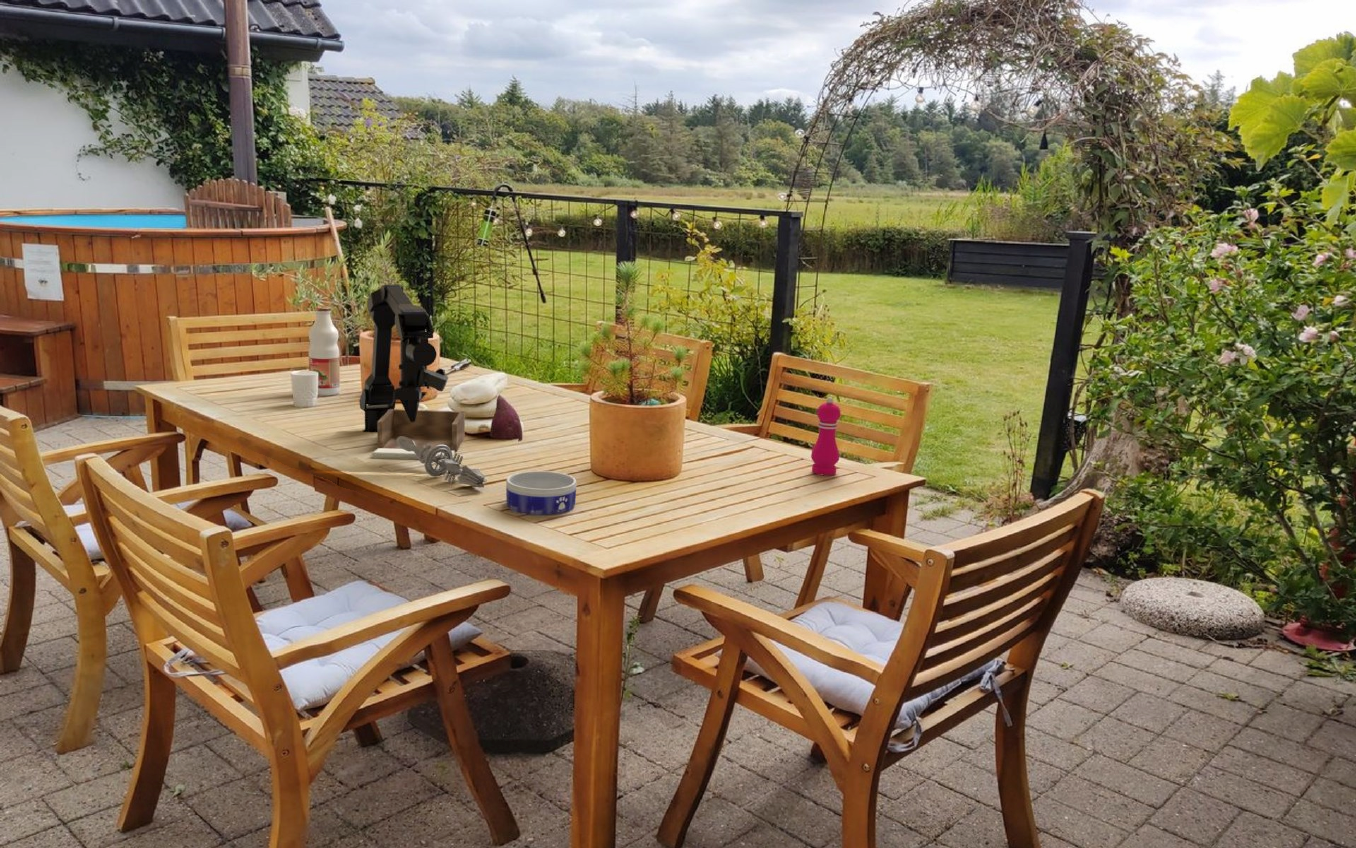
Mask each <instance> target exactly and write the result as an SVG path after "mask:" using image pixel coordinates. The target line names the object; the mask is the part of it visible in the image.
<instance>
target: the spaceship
mask: <svg viewBox="0 0 1356 848" xmlns="http://www.w3.org/2000/svg"><path fill="white" fill-rule="evenodd" d="M396 442H397V444H398V446H399V447H400V448H402V449H404V450H406V451H409V452H410V451H413V452H414V453H415V454H416V455H417V456H418V457H419V458H421V459H419V463H421V464H424V466H423V467H424V469H425V472H426V473H427V474H428V476H431V477H440V476H441V477H442V475H444V474H445V473H446V475H445V477H444V481H445V482H448V483H450V484H451V485H452V484H453V483H454V481H455V479H456V478H457V482H458V484H463V485H468V486H470V487H472V488H473V487H474V488H480V489H481V488H485V485H484V483H486V482H487V479H486V477H485V476H484V474H483V473H482V472H481V470H480V469H478V468H469V466H467V465H464V464H462V461H463V459H464V456H463V455H460V454H458V452H455V453H454V455H453V454H452V451H451V449H450V448H449V447H448V446H446V445H437V446H435V447H433V448H432V449H431V450H430V448H431V445H429V444H427V445H426V447H424V446H417V445H415V443H414V441H413V440H411V439H409V438H407V437H404V436H399V437H398V438H397V439H396ZM440 452H441V454H440V456H439V457H438V455H437V453H440ZM442 453H444V455H445V456H444V457H443V458H442ZM434 466H435V467H434ZM438 466H439V467H438Z"/></svg>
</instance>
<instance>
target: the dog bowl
mask: <svg viewBox="0 0 1356 848" xmlns="http://www.w3.org/2000/svg"><path fill="white" fill-rule="evenodd" d="M505 482H506V486H505V487H506V489H505V490H506V497H505V498H506V507H507V508H508V509H509V508H510V509H509V510H511V511H513V512H516V513H519V514H522V513H525V514H524V515H529V514H530V515H531V516H554V515H562V514H564V513H569V512H570V510H571V511H572V510H574V508H575V507H576V498H577V497H576V496H577V480H576V479H575V477H574V476H571V475H570V474H567V473H563V472H557V471H547V470H546V471H545V470H530V471H522V472H517V473H514V474H511V475H509V476H507V478H506V481H505Z"/></svg>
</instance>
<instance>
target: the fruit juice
mask: <svg viewBox="0 0 1356 848" xmlns="http://www.w3.org/2000/svg"><path fill="white" fill-rule="evenodd" d="M314 312H315V320H314V323H313V324H312V326H311V327H310V329H309V330H308V340H309V342H310V343H309V347H308V371H315V372H318V396H322V397H323V396H324V397H325V396H329V397H330V396H335V395H339V394H340V392H341V373H340V366H341V365H340V364H341V363H340V361H341V360H340V348H339V344H338V340H339V337H340V335H339V330H338V329H337V328H336V326H335V325H334V323H333V321H332V317H331V313H332V307H331V306H325V305H324V306H323V305H322V306H320V305H319V306H315V308H314Z"/></svg>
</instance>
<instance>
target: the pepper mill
mask: <svg viewBox="0 0 1356 848" xmlns="http://www.w3.org/2000/svg"><path fill="white" fill-rule="evenodd" d="M825 401H826V402H825V403H824V402H823V403H822V404H820V405H819V406H818V408H817V410H816V416H817V418H818V419H819V420H818V425H817V427H818V428H819V430H818V431H819V432H818V437H817V440H816V442H815V444H814V446H813V448H812V450H811V455H810V458H811V460H812V462H813V464H812V467H811V472H812V473H813V472H814V473H816V474H815V475H818V474H823V475H822V476H824V475H831V476H834V475H833V474H835V475H836V474H837V466H836V464H838V462H839V460H840V450H839V448H838V445H837V441H836V432H837V431H836V430H837V429H838V424H839V422H838V420H839V419H840V418H841V415H842V414H841V408H840V406H838V404H836V403H834V398H833V397H831V396H828V397H827V398H826V400H825ZM814 473H813V474H814Z"/></svg>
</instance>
